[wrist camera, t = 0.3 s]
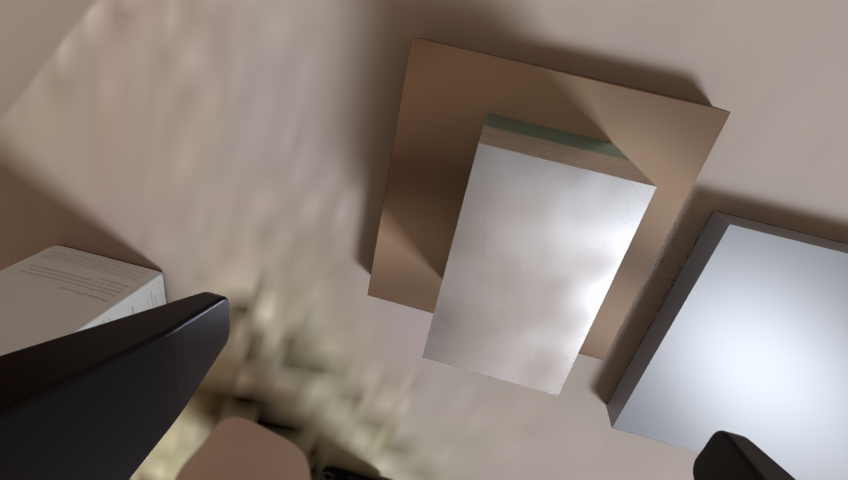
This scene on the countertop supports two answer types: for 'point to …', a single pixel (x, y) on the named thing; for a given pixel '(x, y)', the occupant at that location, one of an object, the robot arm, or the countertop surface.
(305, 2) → the countertop surface
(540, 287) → the block
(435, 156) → the walnut stand
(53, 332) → the supplement box
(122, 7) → the countertop surface
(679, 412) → the slate stand
